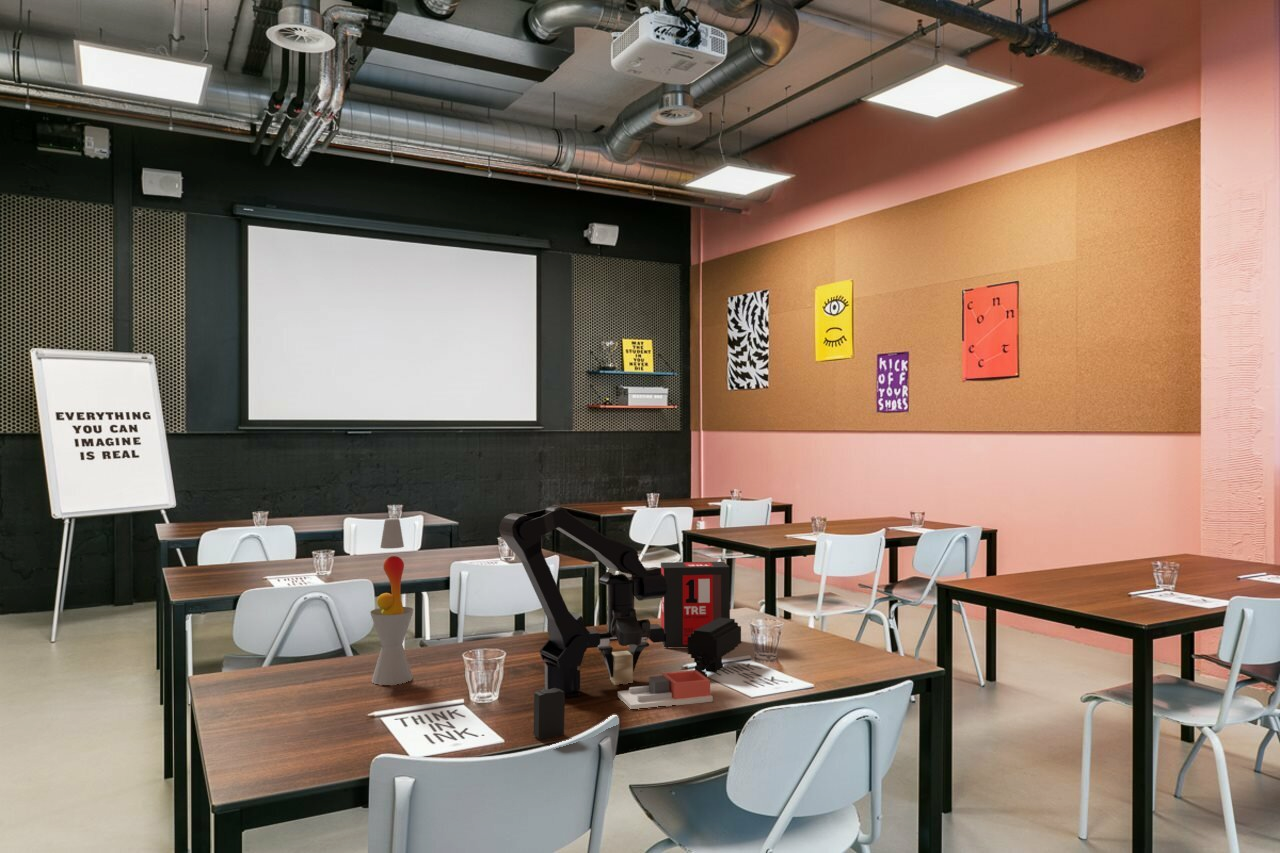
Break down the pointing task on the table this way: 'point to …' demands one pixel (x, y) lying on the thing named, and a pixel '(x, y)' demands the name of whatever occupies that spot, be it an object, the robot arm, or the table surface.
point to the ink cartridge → (549, 713)
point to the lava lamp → (392, 615)
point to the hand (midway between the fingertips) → (621, 675)
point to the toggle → (659, 684)
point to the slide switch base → (671, 691)
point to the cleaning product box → (693, 598)
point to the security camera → (713, 643)
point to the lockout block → (622, 667)
